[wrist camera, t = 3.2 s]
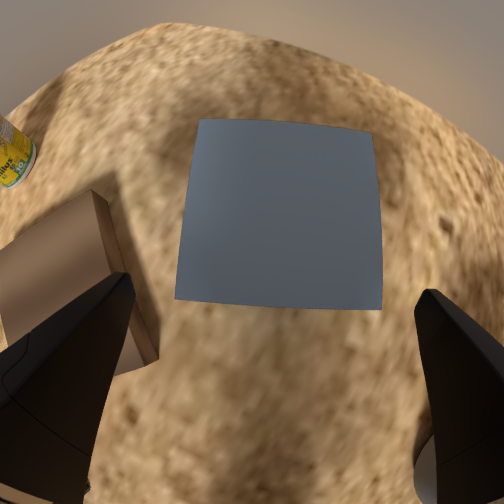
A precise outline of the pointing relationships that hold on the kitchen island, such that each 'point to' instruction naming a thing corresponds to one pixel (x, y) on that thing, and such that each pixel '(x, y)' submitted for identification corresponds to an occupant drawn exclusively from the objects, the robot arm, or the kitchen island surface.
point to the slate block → (281, 217)
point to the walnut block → (66, 273)
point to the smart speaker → (426, 474)
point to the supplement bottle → (14, 155)
